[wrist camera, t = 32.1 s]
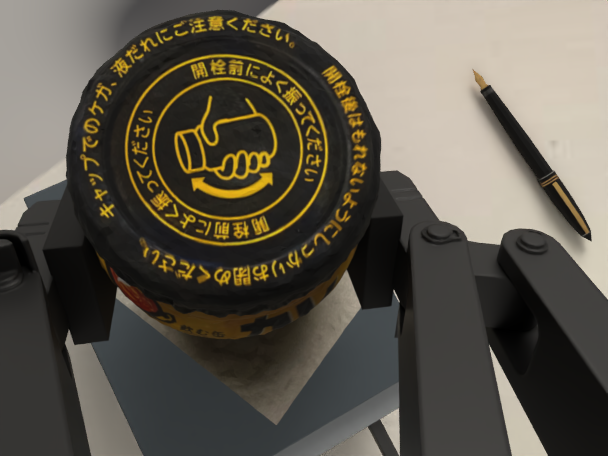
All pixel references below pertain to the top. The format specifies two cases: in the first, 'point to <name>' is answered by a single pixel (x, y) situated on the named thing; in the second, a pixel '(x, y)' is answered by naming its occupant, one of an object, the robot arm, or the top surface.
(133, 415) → the cabinet
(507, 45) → the top surface
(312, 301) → the condiment
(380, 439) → the drawer
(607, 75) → the top surface
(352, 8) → the top surface
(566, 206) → the fountain pen
